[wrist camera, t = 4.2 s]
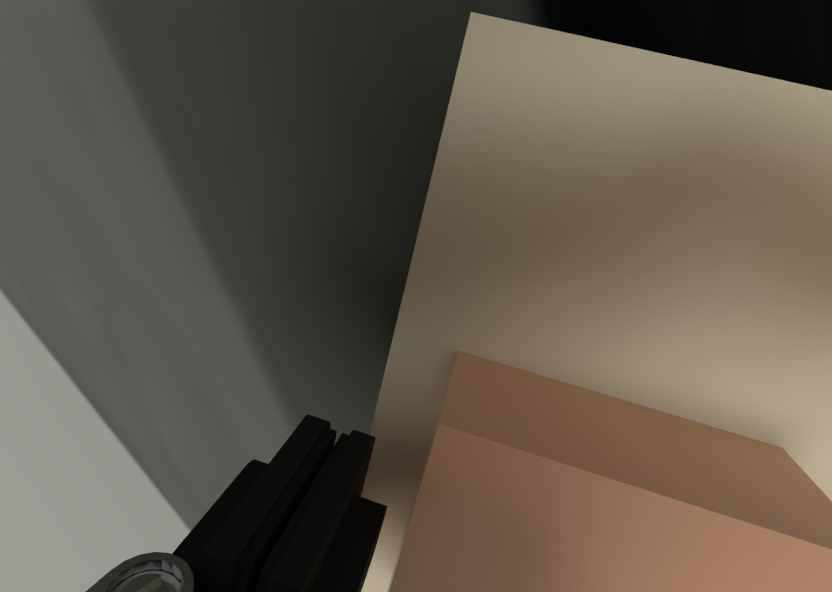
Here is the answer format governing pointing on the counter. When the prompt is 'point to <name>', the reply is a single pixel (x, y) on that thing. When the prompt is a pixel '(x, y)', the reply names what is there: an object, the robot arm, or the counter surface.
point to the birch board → (617, 248)
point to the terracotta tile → (602, 498)
